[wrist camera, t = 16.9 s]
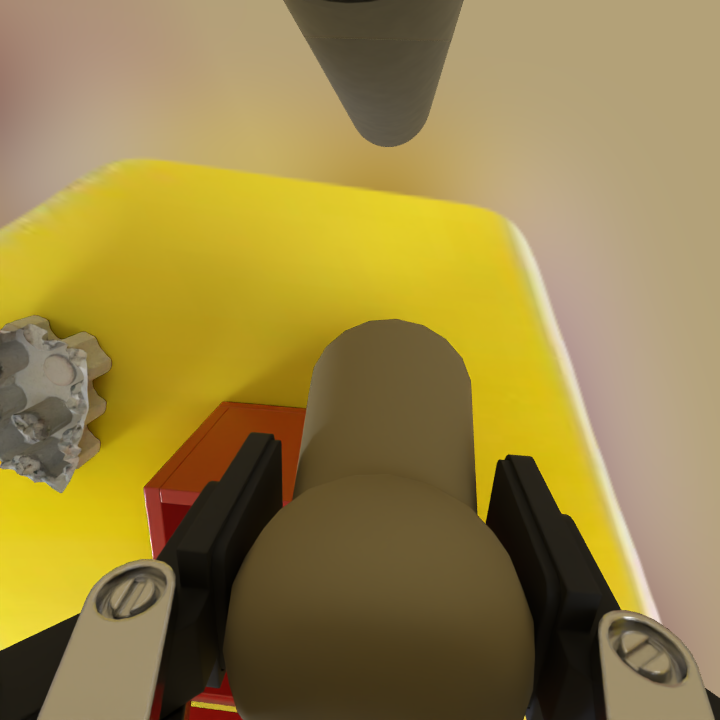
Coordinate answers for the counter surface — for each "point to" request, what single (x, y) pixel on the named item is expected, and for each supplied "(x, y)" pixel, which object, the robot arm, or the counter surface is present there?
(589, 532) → the counter surface
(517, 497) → the robot arm
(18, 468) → the egg carton
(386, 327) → the cork
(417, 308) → the counter surface
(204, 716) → the cab door
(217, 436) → the cabinet
